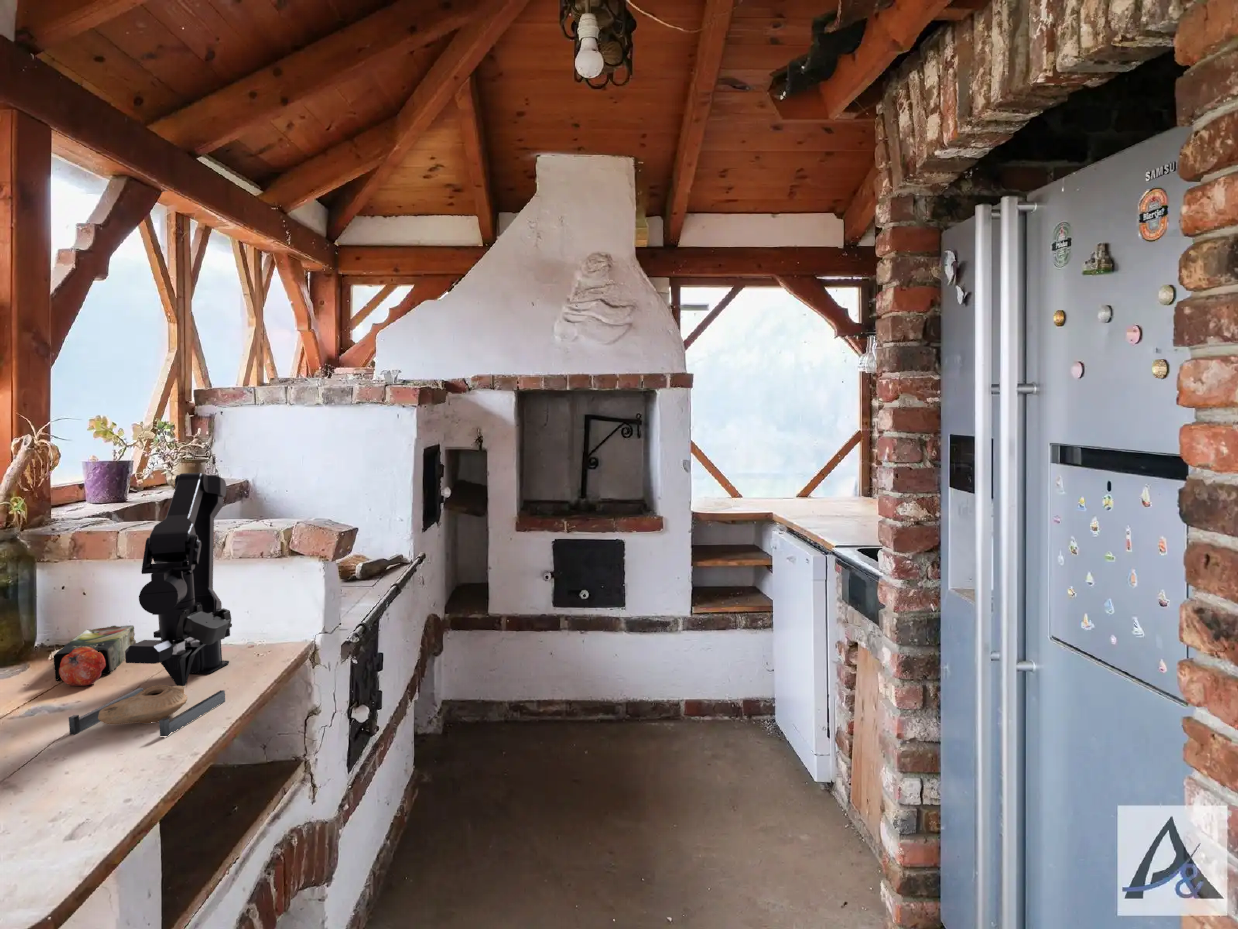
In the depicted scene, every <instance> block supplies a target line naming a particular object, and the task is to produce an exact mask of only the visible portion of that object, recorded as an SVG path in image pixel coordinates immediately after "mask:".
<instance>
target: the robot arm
mask: <svg viewBox="0 0 1238 929" xmlns="http://www.w3.org/2000/svg"><path fill="white" fill-rule="evenodd" d="M226 496H227V484H226V480H225V479H224V478H223V477H221V476H219V474H206V473H202V472H187V473H186V472H185V473H184V472H182V473H179V474H176V475H175V478H174V491H173V495H172V498H171V501H170V504H169V508H168V510H167V513H166V516H165V518H164V519H162V521H160V522H158V523H157V524H155V525H154V526H153V529H151V530H152V531H151V532H150V534H149V536H148V537H147V538H146V540H145V546H144V551H143V558H142V564H141V574H142V575H149V574H150V581H149V582H147V583H145V585H144V586H143V587H142V588H141V589H140V592H139V595H138V602H139V605H140V607H141V608H142V609H143V610H144V611H145V612H147V613H148V614H149V613H150V614H152V616H157V618H158V630H156V631H153V638H154V639H143V640H141V641H139V642H136V643H135V644H133V645H131V646H129V647H128V648H127V649H126V650H125V660H124V661H125V663H126V664H144V665H145V664H151V665H153V664H159V663H160V664H161V665H162V667H163V668H164V669H165V671H166V672H167V673H168V675H169V676H170V678H171V679H172V681H173V682H174V684H175V686H183V687H185V686H187V682H188V678H189V677H190V675H189V674H211V673H214V672H216V671H218V670H219V669H221V668H223V667H225V666H226V665H228V664H230V660H223V655H222V654H223V653H222V651H223V650H222V640H224V639H225V638H229V637H230V636H231V628H232V627H233V625H232V624H233V623H232V616H231V614H232V613H231V610H229V609H227V608H224V607H222V605H223V604H222V601H221V600H220V598H219V596H218V595H217V593H216V592H215V591H214V547H215V546H214V543H215V542H214V540H215V539H214V537H215V536H214V535H215V532H214V531H215V518H216V517H217V515H218V513H219V512H220V511H221V510H222V508H223V506H224V497H226ZM213 671H214V672H213Z"/></svg>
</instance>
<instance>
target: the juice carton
mask: <svg viewBox="0 0 1238 929" xmlns="http://www.w3.org/2000/svg"><path fill="white" fill-rule="evenodd" d="M135 634H136V633H135V626H134V625H131V624H130V625H129V624H126V625H120V626H118V625H110V626H105V627H98V628H93V629H86V630H85V631H83V632H82V633H80V634H79V635H78V636H75V638H73V639H71V641H69V642H68V643H66V644H65V645H64V646H63V647H62V648H61V649H59V650H58V651H57V652H56V653H55V654H54V655H53V665H54V668H53V670H54V680H55V682H56V681H59V682H62V679H61V677H60V674H59V668H60V663H61V660H62V658H63V657H64V656H66V655H68V654H69V653H71V652H72V651H73V650H74V649H77V648H80V647H91V648H93V649H95V650H96V651H99V652H100V653H101V654H103V656H104V659H105V663H106V666H105V668H104V669H103V670H102V671H101V675H109V674H110V673H111V672H112V671H113V672H114V671H115V670H117V667H120V665H121V664H122V663H123V662H124V661H126V660H125V650H126V649H127V648H128V647H129V646H131V645H133V644H135V643H137V641H136V640H135ZM58 678H59V679H58ZM57 679H58V680H57Z"/></svg>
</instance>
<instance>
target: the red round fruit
mask: <svg viewBox="0 0 1238 929" xmlns="http://www.w3.org/2000/svg"><path fill="white" fill-rule="evenodd" d="M105 666H106V663H105V659H104V656H103V654H102V653H101V652H98V651H96V650H95V649H93V648H91V647H80V648H77V649H74V650H73V651H72V652H71V653H69V654H68V655H66V656H64V657H63V658H62V660H61V663H60V668H59V674H60V680H61V681H63V683H65V684H67V685H69V686H72V687H80V686H86V687H87V686H91V685H93V684H94V683H96V681H98V680H99V679H100V677H101V676H102V674H101V671H102V670H103V669H104V668H105Z"/></svg>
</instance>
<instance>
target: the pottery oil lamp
mask: <svg viewBox="0 0 1238 929" xmlns="http://www.w3.org/2000/svg"><path fill="white" fill-rule="evenodd" d="M187 701H188V696H187V694H185V686H177V685H172V686H170V685H167V684H157V685H153V686H149V687H147V688H145V689H143V691H141V692H139V693H138V694H137V695H135V696H133V697H130V698H127V699H124V700H121V701H119V702H117V703H114V704H112V705H110V706H108V707H105V708H103V709H102V710H100V712H99V715H98V719H99V720H100V722H102V723H103V724H104V725H105V724H106V725H126V724H135V723H139V724H141V723H151V722H156V723H159V722H158V721H159V720H161V719H163V718H167V717H168V718H169V717H170V716H172V715H173V714H174V713H176V712H178V710H180V709H181V708H182V707H183V706H184V705H185V704H186V703H187ZM151 724H152V723H151Z"/></svg>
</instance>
